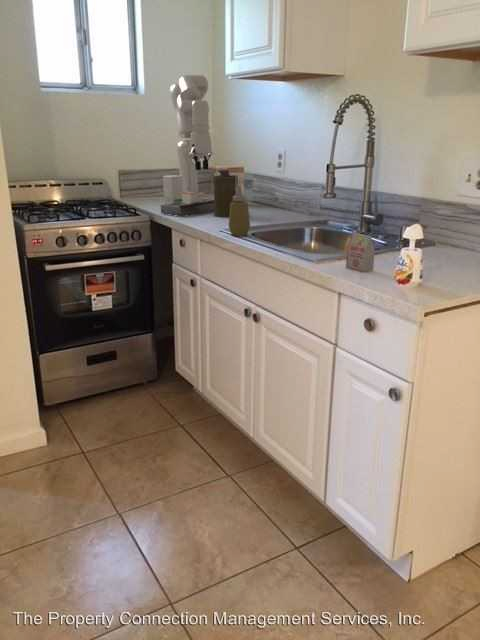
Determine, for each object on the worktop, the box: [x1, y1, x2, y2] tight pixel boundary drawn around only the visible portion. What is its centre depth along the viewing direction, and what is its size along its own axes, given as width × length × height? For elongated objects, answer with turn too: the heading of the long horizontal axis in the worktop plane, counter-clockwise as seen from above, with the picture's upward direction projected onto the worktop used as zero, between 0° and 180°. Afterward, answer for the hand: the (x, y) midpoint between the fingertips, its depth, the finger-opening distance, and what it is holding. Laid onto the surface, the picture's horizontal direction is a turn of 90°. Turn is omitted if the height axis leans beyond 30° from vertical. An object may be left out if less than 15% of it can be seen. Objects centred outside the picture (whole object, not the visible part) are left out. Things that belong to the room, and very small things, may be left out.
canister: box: [212, 170, 238, 218], centre depth 247 cm, size 11×10×20 cm
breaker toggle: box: [182, 191, 197, 203], centre depth 258 cm, size 4×6×5 cm
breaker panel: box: [160, 199, 214, 217], centre depth 260 cm, size 24×14×5 cm, turn 137°
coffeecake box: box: [213, 165, 245, 196], centre depth 280 cm, size 15×7×20 cm, turn 92°
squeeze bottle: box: [228, 186, 251, 237], centre depth 201 cm, size 8×8×18 cm
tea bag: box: [345, 232, 376, 274], centre depth 153 cm, size 4×7×10 cm, turn 36°
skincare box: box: [162, 175, 183, 205], centre depth 274 cm, size 8×7×16 cm
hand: (201, 169), depth 260 cm, fingers open, 4 cm apart
